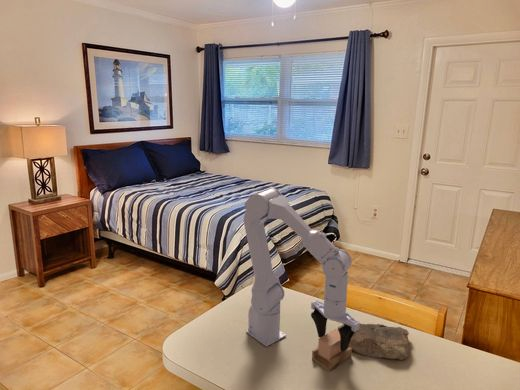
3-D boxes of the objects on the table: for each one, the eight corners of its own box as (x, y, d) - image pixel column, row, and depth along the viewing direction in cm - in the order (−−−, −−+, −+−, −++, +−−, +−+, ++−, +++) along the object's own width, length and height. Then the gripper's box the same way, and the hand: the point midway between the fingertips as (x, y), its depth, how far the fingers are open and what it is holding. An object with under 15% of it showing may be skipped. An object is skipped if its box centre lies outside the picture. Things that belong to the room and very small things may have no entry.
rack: (329, 371, 98) (330, 362, 98) (311, 359, 103) (312, 350, 102) (351, 357, 104) (351, 348, 103) (333, 346, 108) (333, 337, 108)
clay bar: (329, 361, 99) (330, 346, 98) (317, 353, 102) (318, 338, 101) (346, 350, 104) (347, 335, 103) (334, 343, 107) (335, 329, 106)
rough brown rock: (334, 352, 107) (410, 366, 100) (334, 336, 106) (411, 350, 99) (339, 326, 120) (407, 337, 114) (340, 311, 119) (409, 322, 112)
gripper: (368, 302, 96) (364, 349, 99) (323, 282, 107) (321, 325, 110) (351, 312, 92) (347, 360, 95) (306, 289, 102) (304, 334, 106)
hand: (332, 342), depth 102 cm, fingers open, 7 cm apart
